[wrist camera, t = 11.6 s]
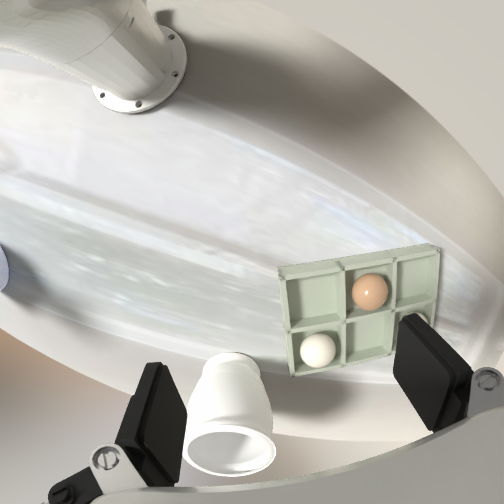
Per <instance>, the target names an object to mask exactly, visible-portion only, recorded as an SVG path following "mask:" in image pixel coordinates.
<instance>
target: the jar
mask: <svg viewBox="0 0 504 504" xmlns="http://www.w3.org/2000/svg"><path fill="white" fill-rule="evenodd" d="M260 376H261V375H260V370H259V367H258V365H257V364H256V363H255V362H254V361H253V360H252V359H251V358H249V357H248V356H246V355H243V354H240V353H234V352H227V353H222V354H218V355H216V356H214V357H212V358H211V359H210V360H209V361H208V362H207V363H206V364H205V366H204V369H203V375H202V377H201V378H200V380H199V381H198V383H197V385H196V388H195V390H194V392H193V394H192V396H191V398H190V401H189V404H188V407H187V414H188V418H187V425H186V432H185V439H184V446H183V453H182V456H183V458H184V459H185V460H186V461H187V462H188V463H189V464H190V465H192V466H193V467H195V468H197V469H199V470H201V471H204V472H206V473H210V474H214V475H219V476H243V475H248V474H252V473H255V472H258V471H260V470H262V469H264V468H266V467H267V466H268V465H269V464H270V463H271V462H272V461H273V460H274V457H275V455H276V448H275V443H274V440H273V439H272V429H273V417H272V409H271V405H270V402H269V399H268V396H267V394H266V390H265V387H264V385H263V382H262V381H261V379H260Z"/></svg>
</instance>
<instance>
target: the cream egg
mask: <svg viewBox="0 0 504 504" xmlns="http://www.w3.org/2000/svg"><path fill="white" fill-rule="evenodd" d="M335 352H336V347H335V343H334V341H333V340H332V339H331V337H329V336H328V335H326V334H324V333H313V334H311V335H309V336H307V337H306V338H305V339H304V340H303V342H302V344H301V347H300V355H301V358H302V360H303V361H304V363H306V364H307V365H308V366H310V367H313V368H321V367H324V366H326V365H328V364H329V363H330V362H331V361H332V360H333V358H334V356H335Z"/></svg>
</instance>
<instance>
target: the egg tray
mask: <svg viewBox="0 0 504 504" xmlns="http://www.w3.org/2000/svg"><path fill="white" fill-rule="evenodd" d="M439 263H440V249H439V248H437V247H435V246H433V245H430V244H428V243H426V244H420V245H414V246H409V247H403V248H397V249H391V250H385V251H379V252H373V253H367V254H360V255H354V256H348V257H342V258H335V259H329V260H322V261H316V262H309V263H303V264H296V265H290V266H283V267H277V274H278V282H279V290H280V299H281V307H282V316H283V325H284V334H285V343H286V352H287V362H288V367H289V372H290V376H291V377H295V376H301V375H306V374H312V373H317V372H322V371H327V370H332V369H337V368H342V367H346V366H350V365H355V364H359V363H363V362H367V361H371V360H375V359H379V358H383V357H386V356H390V355H393V354H395V352H396V343H397V334H398V323H399V321H400V319H401V318H402V317H403V316H404V315H405V314H407V313H409V312H419V313H421V314H423V315H424V316H425V318H426V319H427V322H428V324H429V325H430V326H431V327H432V328H433V323H434V316H435V308H436V300H437V290H438V278H439ZM367 273H374V274H377V275H379V276H381V277H382V278H383V279H384V280H385V282H386V284H387V287H388V296H387V299H386V301H385V303H384V304H383V305H382V306H381V307H380V308H378V309H376V310H373V311H366V310H363V309H361V308H359V307H358V306H357V305H356V304H355V303H354V301H353V298H352V287H353V284H354V282H355V281H356V280H357V278H359V277H360V276H361V275H364V274H367ZM313 333H324V334H326V335H328V336H329V337H331V339H332V340H333V341H334V343H335V347H336V352H335V356H334V358H333V360H332V361H331V362H330V363H329V364H328V365H326V366H324V367H321V368H313V367H310V366H308V365H307V364H306V363H304V361H303V360H302V358H301V355H300V347H301V344H302V342H303V340H304V339H305V338H306V337H307V336H309V335H311V334H313Z"/></svg>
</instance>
